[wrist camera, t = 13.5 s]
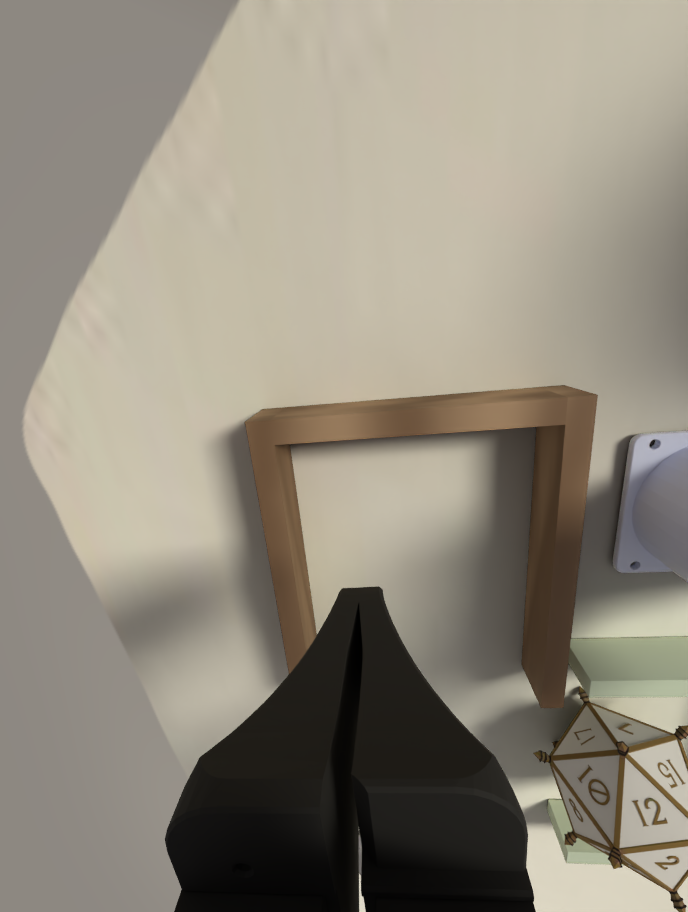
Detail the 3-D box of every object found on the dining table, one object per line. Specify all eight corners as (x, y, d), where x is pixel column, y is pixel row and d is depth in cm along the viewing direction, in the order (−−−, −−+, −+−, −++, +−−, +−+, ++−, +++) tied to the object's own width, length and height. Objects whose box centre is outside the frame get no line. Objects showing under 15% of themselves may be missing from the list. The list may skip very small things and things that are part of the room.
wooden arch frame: (563, 385, 19) (597, 394, 16) (541, 663, 24) (563, 707, 22) (262, 409, 21) (245, 421, 18) (303, 667, 26) (295, 708, 23)
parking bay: (781, 634, 23) (841, 678, 20) (725, 813, 27) (766, 869, 25) (565, 639, 24) (591, 680, 21) (547, 810, 29) (566, 863, 26)
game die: (577, 687, 30) (661, 874, 24) (486, 705, 27) (555, 921, 21) (688, 663, 23) (843, 914, 17) (582, 683, 20) (724, 991, 14)
